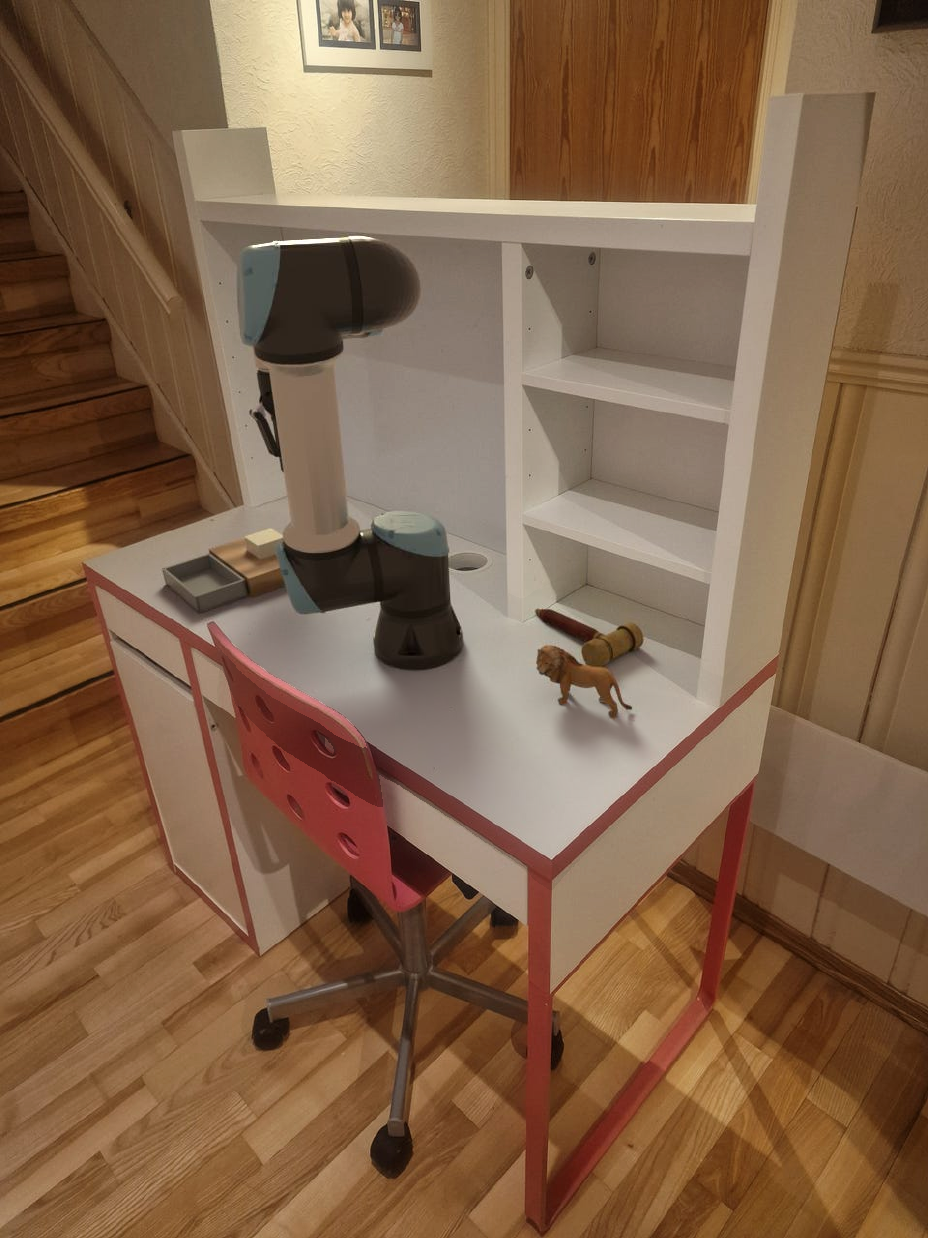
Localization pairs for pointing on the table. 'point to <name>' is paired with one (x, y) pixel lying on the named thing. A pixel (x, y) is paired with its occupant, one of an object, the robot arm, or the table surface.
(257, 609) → the table surface
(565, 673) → the lion figurine
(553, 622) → the gavel
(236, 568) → the board
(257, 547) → the block
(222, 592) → the tray
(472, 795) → the table surface
